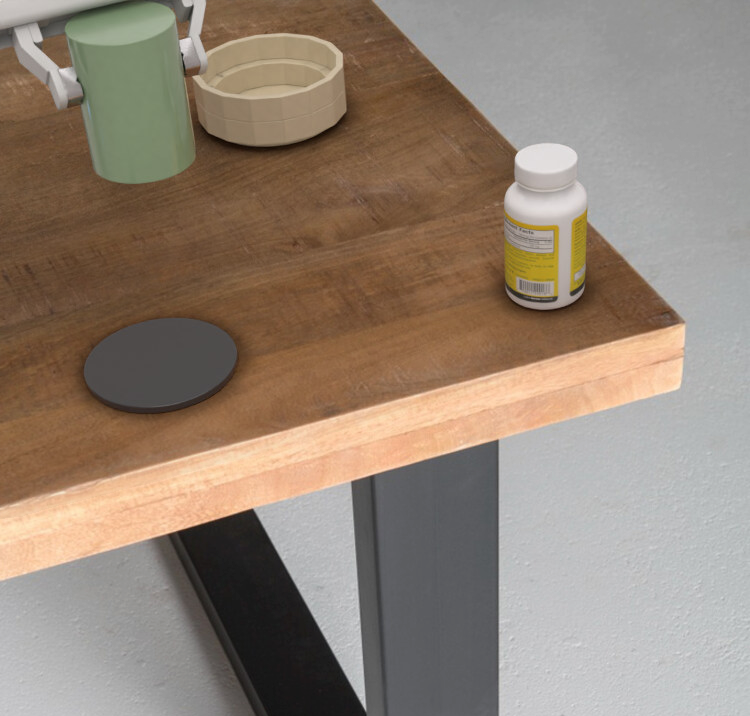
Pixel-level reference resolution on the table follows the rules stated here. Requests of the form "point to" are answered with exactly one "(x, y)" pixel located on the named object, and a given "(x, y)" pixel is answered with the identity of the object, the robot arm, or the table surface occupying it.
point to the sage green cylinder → (132, 91)
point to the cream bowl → (271, 89)
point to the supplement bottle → (545, 228)
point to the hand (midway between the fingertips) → (135, 87)
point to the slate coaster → (160, 365)
